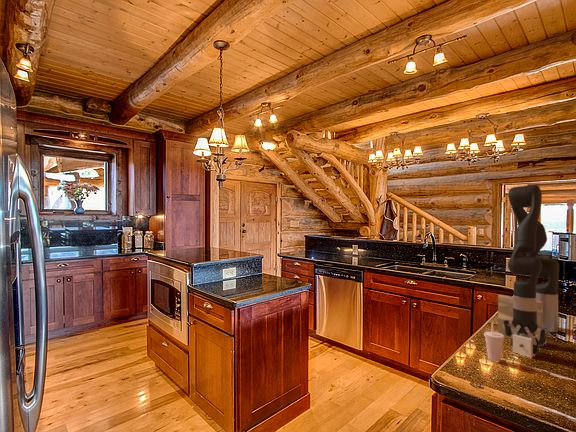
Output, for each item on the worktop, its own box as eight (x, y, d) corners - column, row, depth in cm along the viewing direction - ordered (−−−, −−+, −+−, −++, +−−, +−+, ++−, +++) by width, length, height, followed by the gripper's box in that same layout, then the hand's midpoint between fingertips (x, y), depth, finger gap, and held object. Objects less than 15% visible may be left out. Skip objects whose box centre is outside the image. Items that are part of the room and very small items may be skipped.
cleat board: (504, 332, 149) (504, 293, 148) (546, 343, 135) (546, 300, 135) (495, 336, 144) (495, 295, 144) (538, 348, 130) (538, 303, 130)
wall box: (521, 348, 131) (521, 331, 131) (539, 353, 126) (539, 335, 126) (511, 353, 126) (511, 335, 126) (529, 359, 121) (529, 340, 121)
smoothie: (485, 355, 124) (485, 318, 124) (505, 359, 120) (505, 322, 120) (482, 360, 119) (482, 323, 119) (503, 365, 115) (503, 326, 115)
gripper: (551, 310, 122) (551, 355, 122) (508, 302, 134) (508, 342, 134) (543, 314, 117) (543, 360, 117) (499, 305, 129) (499, 346, 129)
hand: (524, 350), depth 125 cm, fingers closed on wall box, 6 cm apart
